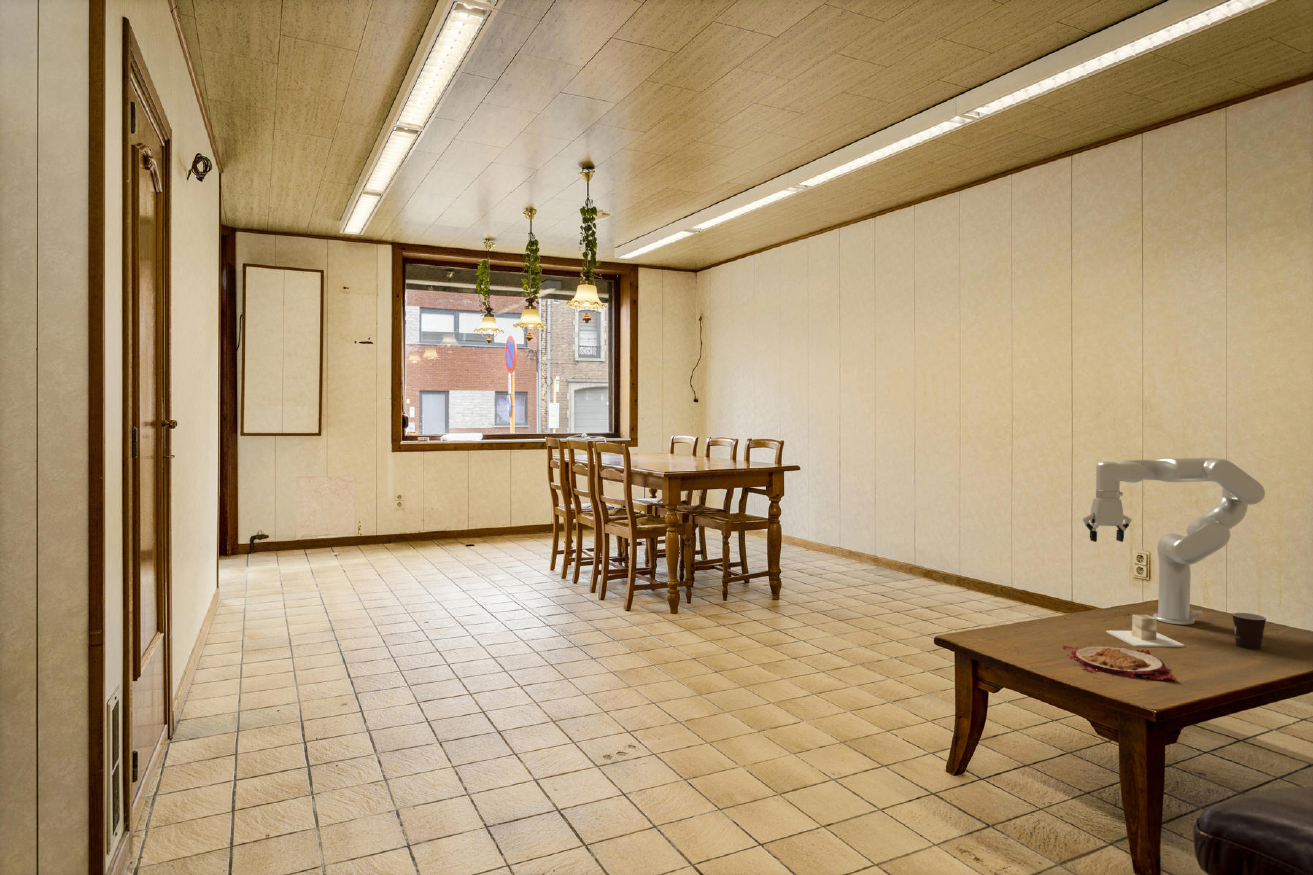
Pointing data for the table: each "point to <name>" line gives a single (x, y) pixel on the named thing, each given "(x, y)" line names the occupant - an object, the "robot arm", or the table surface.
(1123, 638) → the white mat
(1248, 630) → the coffee mug
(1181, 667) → the table surface
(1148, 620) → the birch block
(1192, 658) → the table surface
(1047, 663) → the table surface
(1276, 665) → the table surface
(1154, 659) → the plate with food
